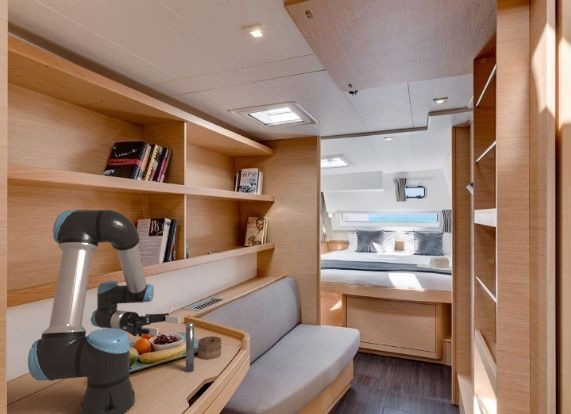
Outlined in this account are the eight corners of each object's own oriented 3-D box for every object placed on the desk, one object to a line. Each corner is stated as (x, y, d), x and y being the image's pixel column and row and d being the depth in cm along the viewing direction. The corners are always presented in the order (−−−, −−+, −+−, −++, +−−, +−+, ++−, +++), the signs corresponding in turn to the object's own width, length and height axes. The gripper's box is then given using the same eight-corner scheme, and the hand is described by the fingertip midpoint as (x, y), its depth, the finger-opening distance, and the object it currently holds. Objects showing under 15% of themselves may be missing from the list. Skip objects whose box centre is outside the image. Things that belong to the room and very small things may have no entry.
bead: (214, 360, 133) (214, 346, 133) (193, 357, 136) (193, 343, 136) (224, 351, 142) (224, 337, 143) (205, 348, 145) (205, 335, 145)
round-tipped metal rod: (191, 372, 123) (191, 323, 124) (184, 371, 124) (184, 323, 124) (195, 369, 126) (195, 321, 126) (188, 368, 127) (188, 320, 127)
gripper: (146, 320, 147) (187, 324, 141) (100, 341, 123) (147, 348, 117) (146, 303, 147) (187, 307, 141) (100, 321, 123) (147, 327, 117)
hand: (169, 325), depth 129 cm, fingers open, 13 cm apart
